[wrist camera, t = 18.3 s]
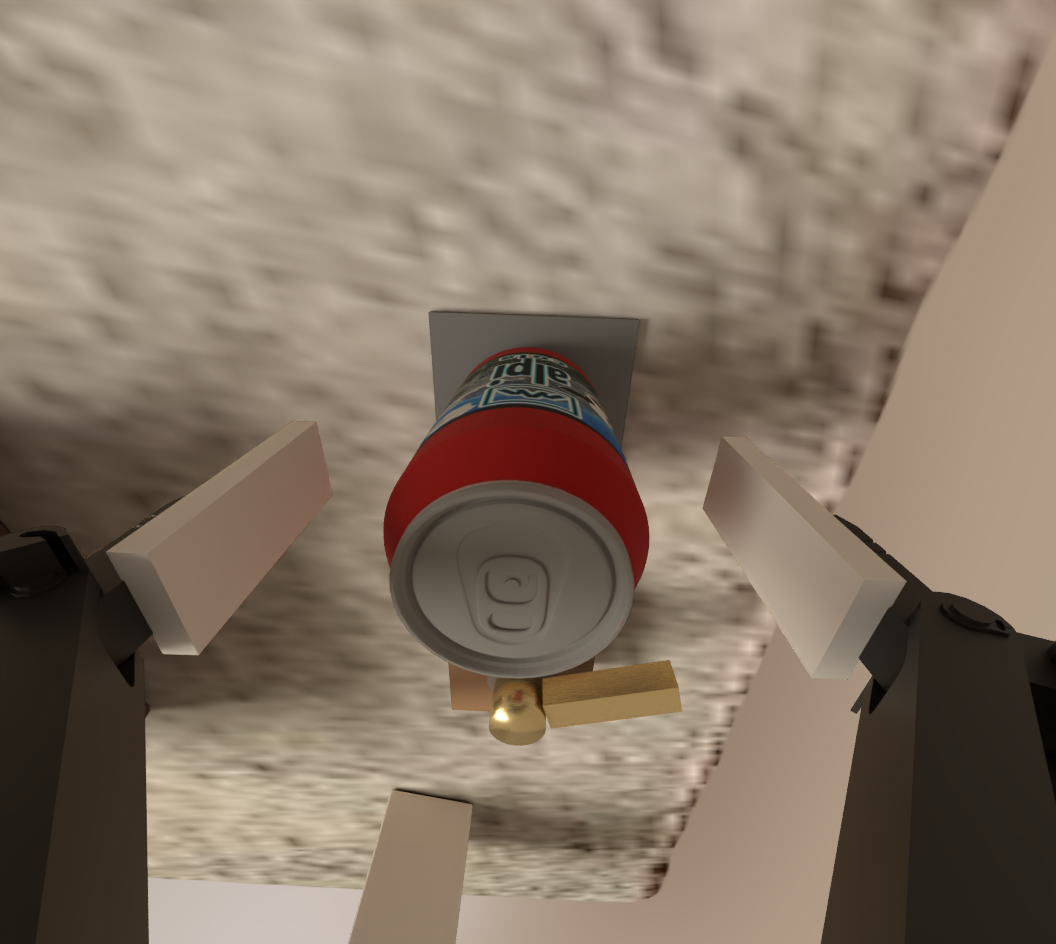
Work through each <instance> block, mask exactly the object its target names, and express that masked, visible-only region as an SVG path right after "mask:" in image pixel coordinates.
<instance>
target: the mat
mask: <svg viewBox="0 0 1056 944" xmlns="http://www.w3.org/2000/svg"><path fill="white" fill-rule="evenodd" d="M429 325H430V339H431V353H432V367H433V381H434V395H435V409H436V421H437V419H438V418H439V416H440V415H441V413H442V412H443V410H444V409H445V407H446V406H447V405H448V403H449V402H450V400H451V399H452V397H453V396H454V394H455V393H456V391H457V390H458V389H459V387H460V386H461V385H462V383H463V382H464V380H465V379H466V378H467V376H468V375H469V374H470V373H471V371H472V370H473V369H474V368H475V367H476V366H478V365H479V364H480V363H481V362H482V361H484V360H485V359H487V358H489V357H490V356H492V355H494V354H496V353H499V352H501V351H504V350H508V349H513V348H520V347H534V348H541V349H546V350H549V351H552V352H555V353H558V354H560V355H562V356H564V357H565V358H567V359H569V360H570V361H572V362H573V363H574V364H575V365H577V366H578V367H579V368H580V369H581V370H582V371H583V372H584V373H585V375H586V376H587V377H588V379H589V380H590V382H591V383H592V385H593V387H594V389H595V391H596V393H597V395H598V397H599V399H600V402H601V404H602V406H603V408H604V410H605V413H606V415H607V417H608V420H609V422H610V424H611V426H612V429H613V431H614V434H615V436H616V438H617V441H618V443H619V446H620V448H621V445H622V438H623V431H624V424H625V417H626V410H627V403H628V397H629V390H630V383H631V376H632V369H633V362H634V355H635V348H636V341H637V334H638V327H639V320H638V319H624V318H597V317H570V316H544V315H517V314H490V313H463V312H436V311H430V312H429Z"/></svg>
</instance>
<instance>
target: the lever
mask: <svg viewBox="0 0 1056 944" xmlns="http://www.w3.org/2000/svg"><path fill="white" fill-rule="evenodd" d="M674 712H682V708H681V701H680V694H679V687H678V684H677V681H676V678H675V675H674V672H673V669H672V666H671V663H670V660H666V661H659V662H653V663H646V664H639V665H632V666H625V667H619V668H612V669H605V670H598V671H591V672H585V673H578V674H571V675H564V676H557V677H550V678H544V679H543V680H542V679H541V678H540V677H533V678H500V677H498V678H497V679H496V680H495V682H494V687H493V696H492V705H491V713H490V722H489V730H490V732H491V734H492V735H493V736H494V737H495V738H496V739H497V740H499V741H501V742H503V743H506V744H510V745H528V744H532V743H534V742H536V741H538V740H540V739H541V738H542V737H543V736H544V734H545V731H546V716H547V719H548V722H549V724H550V727H551V728H559V727H566V726H574V725H582V724H589V723H597V722H605V721H613V720H620V719H628V718H636V717H644V716H651V715H659V714H667V713H674Z"/></svg>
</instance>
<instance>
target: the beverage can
mask: <svg viewBox="0 0 1056 944" xmlns="http://www.w3.org/2000/svg"><path fill="white" fill-rule="evenodd" d="M384 546H385V551H386V556H387V560H388V563H389V567H390V592H391V596H392V600H393V604H394V607H395V609H396V611H397V613H398V616H399V617H400V619H401V621H402V622H403V624H404V625H405V627H406V628H407V630H408V631H409V632H410V633H411V634H412V635H413V637H414V638H415V639H416V640H417V641H418V642H419V643H421V644H422V645H423V646H424V647H425V648H427V649H428V650H429V651H430V652H432V653H433V654H435V655H436V656H438V657H440V658H441V659H443V660H445V661H446V662H449V663H451V664H453V665H455V666H457V667H460V668H462V669H465V670H468V671H471V672H475V673H478V674H482V675H488V676H494V677H500V678H533V677H541V676H547V675H552V674H556V673H559V672H563V671H566V670H568V669H571V668H574V667H576V666H578V665H580V664H582V663H584V662H586V661H588V660H590V659H591V658H593V657H594V656H596V655H597V654H598V653H600V652H601V651H603V650H604V649H605V648H606V647H607V646H608V645H609V644H610V643H611V642H612V641H613V640H614V639H615V638H616V636H617V635H618V634H619V633H620V631H621V630H622V628H623V626H624V625H625V623H626V621H627V619H628V617H629V614H630V611H631V608H632V604H633V599H634V590H635V588H636V586H637V584H638V582H639V580H640V578H641V576H642V573H643V571H644V568H645V564H646V560H647V556H648V549H649V526H648V520H647V515H646V512H645V508H644V506H643V503H642V501H641V498H640V496H639V493H638V490H637V488H636V485H635V483H634V480H633V478H632V475H631V473H630V470H629V468H628V465H627V463H626V460H625V458H624V455H623V453H622V450H621V448H620V446H619V443H618V441H617V438H616V436H615V434H614V431H613V429H612V426H611V424H610V422H609V420H608V417H607V415H606V413H605V410H604V408H603V406H602V404H601V402H600V399H599V397H598V395H597V393H596V391H595V389H594V387H593V385H592V383H591V382H590V380H589V379H588V377H587V376H586V375H585V373H584V372H583V371H582V370H581V369H580V368H579V367H578V366H577V365H575V364H574V363H573V362H572V361H570V360H569V359H567V358H565V357H564V356H562V355H560V354H558V353H555V352H552V351H549V350H546V349H541V348H534V347H520V348H513V349H508V350H504V351H501V352H499V353H496V354H494V355H492V356H490V357H489V358H487V359H485V360H484V361H482V362H481V363H480V364H479V365H478V366H476V367H475V368H474V369H473V370H472V371H471V373H470V374H469V375H468V376H467V378H466V379H465V380H464V382H463V383H462V385H461V386H460V387H459V389H458V390H457V391H456V393H455V394H454V396H453V397H452V399H451V400H450V402H449V403H448V405H447V406H446V407H445V409H444V410H443V412H442V413H441V415H440V416H439V418H438V419H437V421H436V422H435V424H434V425H433V427H432V429H431V430H430V432H429V433H428V435H427V436H426V438H425V439H424V441H423V442H422V444H421V446H420V447H419V449H418V450H417V452H416V453H415V455H414V457H413V458H412V460H411V461H410V463H409V465H408V466H407V468H406V469H405V471H404V473H403V474H402V476H401V477H400V479H399V481H398V482H397V484H396V485H395V487H394V489H393V491H392V493H391V496H390V498H389V501H388V504H387V508H386V512H385V518H384Z"/></svg>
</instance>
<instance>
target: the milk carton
mask: <svg viewBox="0 0 1056 944" xmlns="http://www.w3.org/2000/svg"><path fill="white" fill-rule="evenodd" d="M472 807H473V806H472V805H471V804H467V803H462V802H457V801H451V800H446V799H440V798H435V797H429V796H424V795H418V794H413V793H407V792H401V791H395V790H392V791H391V794H390V797H389V800H388V804H387V807H386V811H385V814H384V818H383V821H382V825H381V828H380V832H379V835H378V839H377V842H376V846H375V849H374V853H373V856H372V860H371V863H370V867H369V870H368V874H367V877H366V881H365V884H364V888H363V891H362V895H361V898H360V902H359V906H358V909H357V913H356V916H355V920H354V923H353V927H352V930H351V934H350V937H349V941H348V944H455V942H456V935H457V927H458V919H459V911H460V903H461V896H462V888H463V880H464V872H465V864H466V856H467V848H468V840H469V832H470V824H471V817H472Z"/></svg>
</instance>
